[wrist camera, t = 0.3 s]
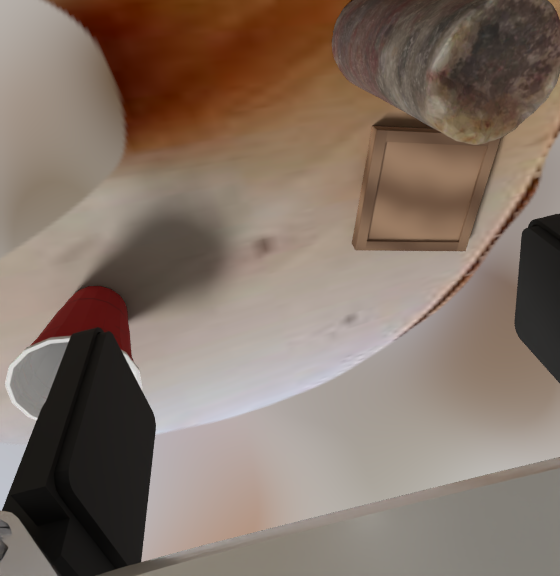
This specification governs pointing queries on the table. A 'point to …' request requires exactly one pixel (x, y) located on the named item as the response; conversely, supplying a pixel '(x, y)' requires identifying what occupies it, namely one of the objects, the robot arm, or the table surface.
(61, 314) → the plastic cup
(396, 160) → the picture frame
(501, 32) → the grey brown rough cylinder
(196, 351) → the table surface
